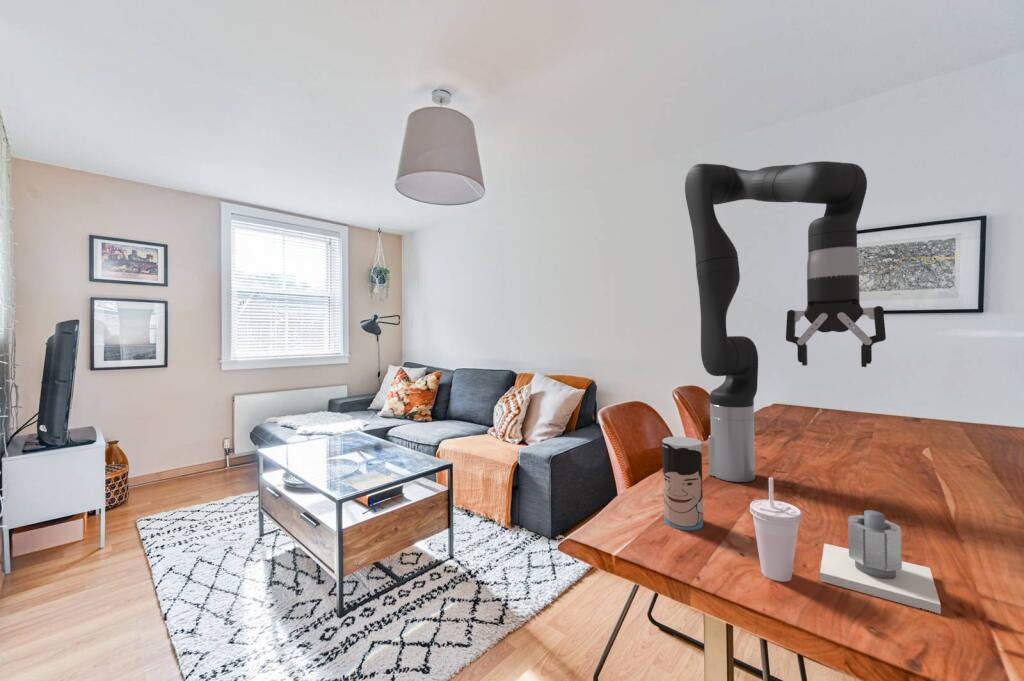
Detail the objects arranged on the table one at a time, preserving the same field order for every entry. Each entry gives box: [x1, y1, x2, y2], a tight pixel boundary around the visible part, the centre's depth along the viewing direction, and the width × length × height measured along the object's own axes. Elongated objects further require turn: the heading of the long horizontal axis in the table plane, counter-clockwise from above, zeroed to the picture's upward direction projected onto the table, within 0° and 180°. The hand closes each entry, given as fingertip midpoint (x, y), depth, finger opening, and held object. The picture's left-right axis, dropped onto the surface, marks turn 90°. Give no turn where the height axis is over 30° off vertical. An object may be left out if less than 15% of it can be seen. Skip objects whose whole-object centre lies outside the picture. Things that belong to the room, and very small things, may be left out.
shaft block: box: [819, 509, 942, 615], centre depth 60 cm, size 12×10×9 cm
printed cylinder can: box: [661, 436, 704, 531], centre depth 79 cm, size 7×7×15 cm
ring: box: [847, 514, 903, 571], centre depth 60 cm, size 6×6×5 cm
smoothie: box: [749, 477, 803, 583], centre depth 62 cm, size 6×6×14 cm
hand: (833, 365), depth 78 cm, fingers open, 8 cm apart
